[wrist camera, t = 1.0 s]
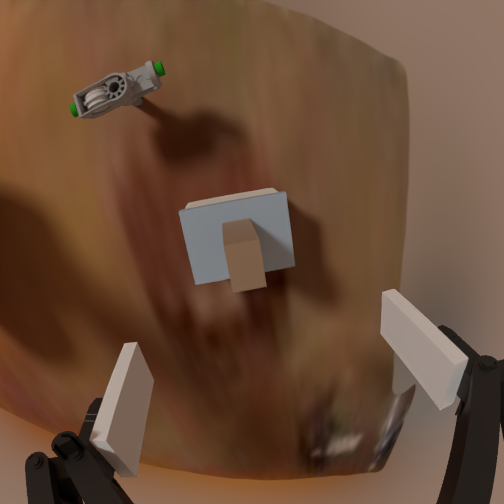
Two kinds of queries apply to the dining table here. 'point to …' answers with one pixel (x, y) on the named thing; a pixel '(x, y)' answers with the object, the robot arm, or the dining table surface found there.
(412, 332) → the robot arm
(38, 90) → the dining table surface
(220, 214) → the lid
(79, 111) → the mechanical component
